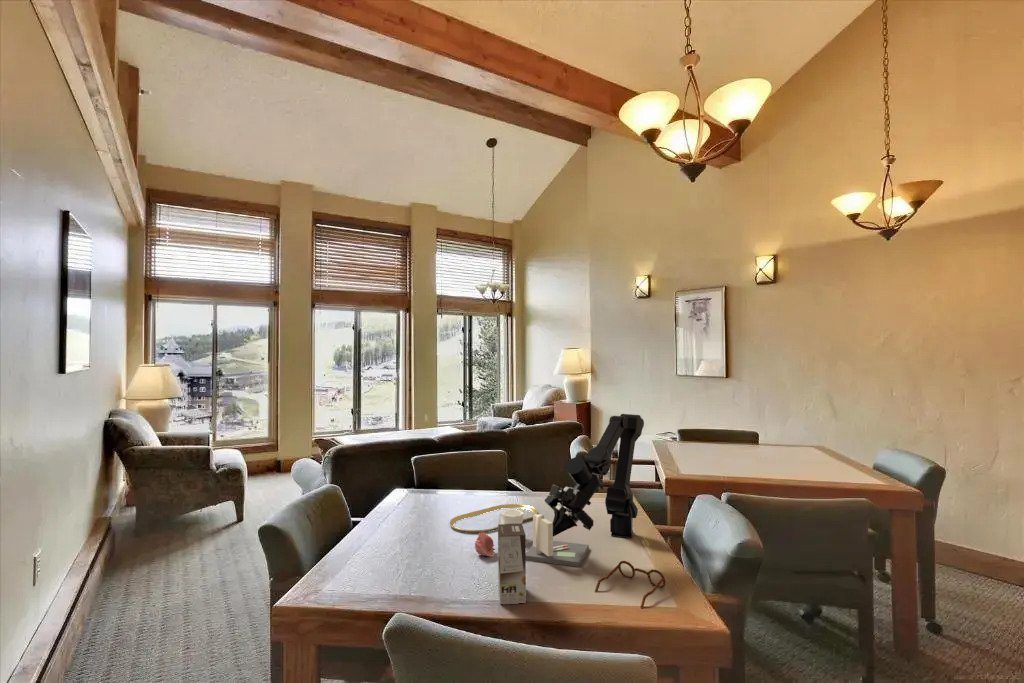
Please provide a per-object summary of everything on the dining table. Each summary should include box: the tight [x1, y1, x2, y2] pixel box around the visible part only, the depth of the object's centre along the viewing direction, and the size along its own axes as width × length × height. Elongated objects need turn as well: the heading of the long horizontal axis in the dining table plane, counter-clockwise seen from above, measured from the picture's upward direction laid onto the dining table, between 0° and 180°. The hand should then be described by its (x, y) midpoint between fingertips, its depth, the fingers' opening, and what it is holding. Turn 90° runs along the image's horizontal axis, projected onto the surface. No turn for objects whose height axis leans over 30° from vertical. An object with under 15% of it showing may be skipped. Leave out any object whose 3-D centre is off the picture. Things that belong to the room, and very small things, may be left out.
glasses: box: [594, 560, 667, 610], centre depth 128 cm, size 13×13×5 cm
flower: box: [474, 531, 496, 558], centre depth 152 cm, size 8×8×6 cm
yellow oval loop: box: [449, 503, 538, 534], centre depth 184 cm, size 19×35×2 cm, turn 132°
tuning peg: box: [532, 513, 568, 556], centre depth 150 cm, size 9×10×10 cm
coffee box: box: [497, 522, 527, 605], centre depth 126 cm, size 9×6×16 cm
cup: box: [498, 509, 525, 525], centre depth 167 cm, size 7×10×8 cm
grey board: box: [526, 540, 590, 568], centre depth 152 cm, size 16×14×1 cm
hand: (550, 535), depth 147 cm, fingers closed
